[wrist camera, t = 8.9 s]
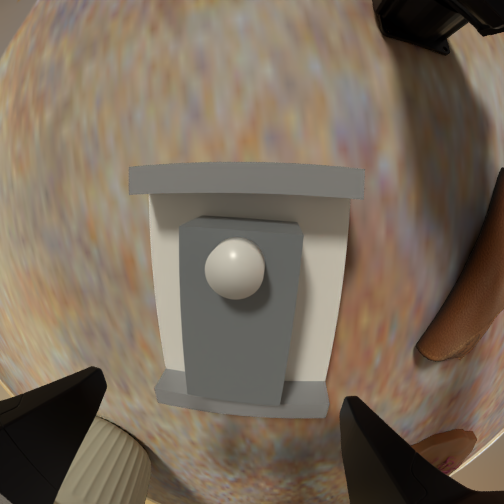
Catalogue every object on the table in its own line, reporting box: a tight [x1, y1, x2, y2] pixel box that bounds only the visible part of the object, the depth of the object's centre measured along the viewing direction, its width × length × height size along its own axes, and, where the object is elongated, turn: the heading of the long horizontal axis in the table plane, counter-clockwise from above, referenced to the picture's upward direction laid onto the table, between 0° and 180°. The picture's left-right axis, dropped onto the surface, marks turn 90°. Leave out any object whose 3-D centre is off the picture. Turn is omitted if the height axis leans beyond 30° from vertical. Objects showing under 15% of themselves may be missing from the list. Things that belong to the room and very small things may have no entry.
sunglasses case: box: [416, 168, 504, 361], centre depth 17 cm, size 18×7×7 cm, turn 155°
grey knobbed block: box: [179, 215, 304, 406], centre depth 14 cm, size 10×6×5 cm, turn 176°
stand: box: [129, 162, 365, 418], centre depth 17 cm, size 12×16×6 cm
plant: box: [411, 429, 477, 476], centre depth 20 cm, size 20×20×11 cm
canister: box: [54, 416, 151, 504], centre depth 18 cm, size 18×18×21 cm
